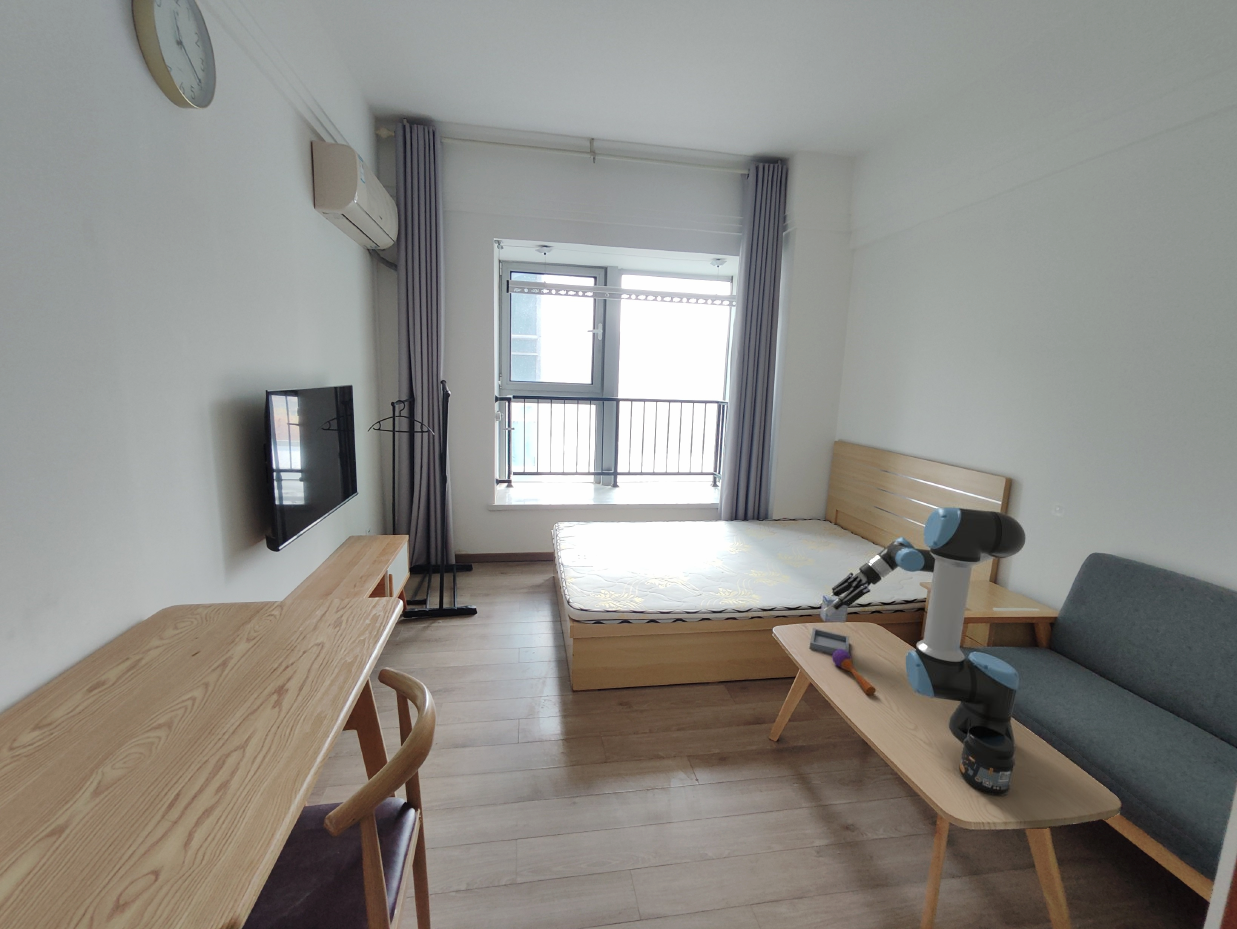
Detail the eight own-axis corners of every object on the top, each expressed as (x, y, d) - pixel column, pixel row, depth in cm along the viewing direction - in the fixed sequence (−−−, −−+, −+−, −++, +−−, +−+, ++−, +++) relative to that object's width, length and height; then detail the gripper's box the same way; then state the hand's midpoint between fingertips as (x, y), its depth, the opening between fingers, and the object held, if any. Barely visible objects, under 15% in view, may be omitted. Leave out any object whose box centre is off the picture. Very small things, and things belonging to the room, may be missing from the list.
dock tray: (847, 658, 184) (848, 651, 184) (809, 648, 190) (810, 642, 189) (848, 642, 196) (849, 636, 196) (812, 633, 201) (813, 627, 201)
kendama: (861, 684, 162) (829, 647, 181) (861, 700, 163) (829, 661, 182) (879, 681, 162) (845, 644, 181) (879, 697, 164) (845, 658, 183)
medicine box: (840, 617, 194) (843, 596, 192) (845, 623, 189) (849, 601, 188) (819, 616, 194) (822, 594, 192) (824, 622, 189) (827, 600, 188)
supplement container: (962, 759, 136) (970, 718, 134) (1011, 781, 129) (1020, 739, 127) (953, 779, 129) (962, 736, 127) (1005, 805, 122) (1015, 760, 120)
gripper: (892, 587, 179) (839, 628, 183) (870, 568, 197) (821, 606, 200) (879, 571, 179) (826, 613, 182) (858, 554, 196) (809, 592, 199)
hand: (823, 609), depth 191 cm, fingers closed on medicine box, 4 cm apart
